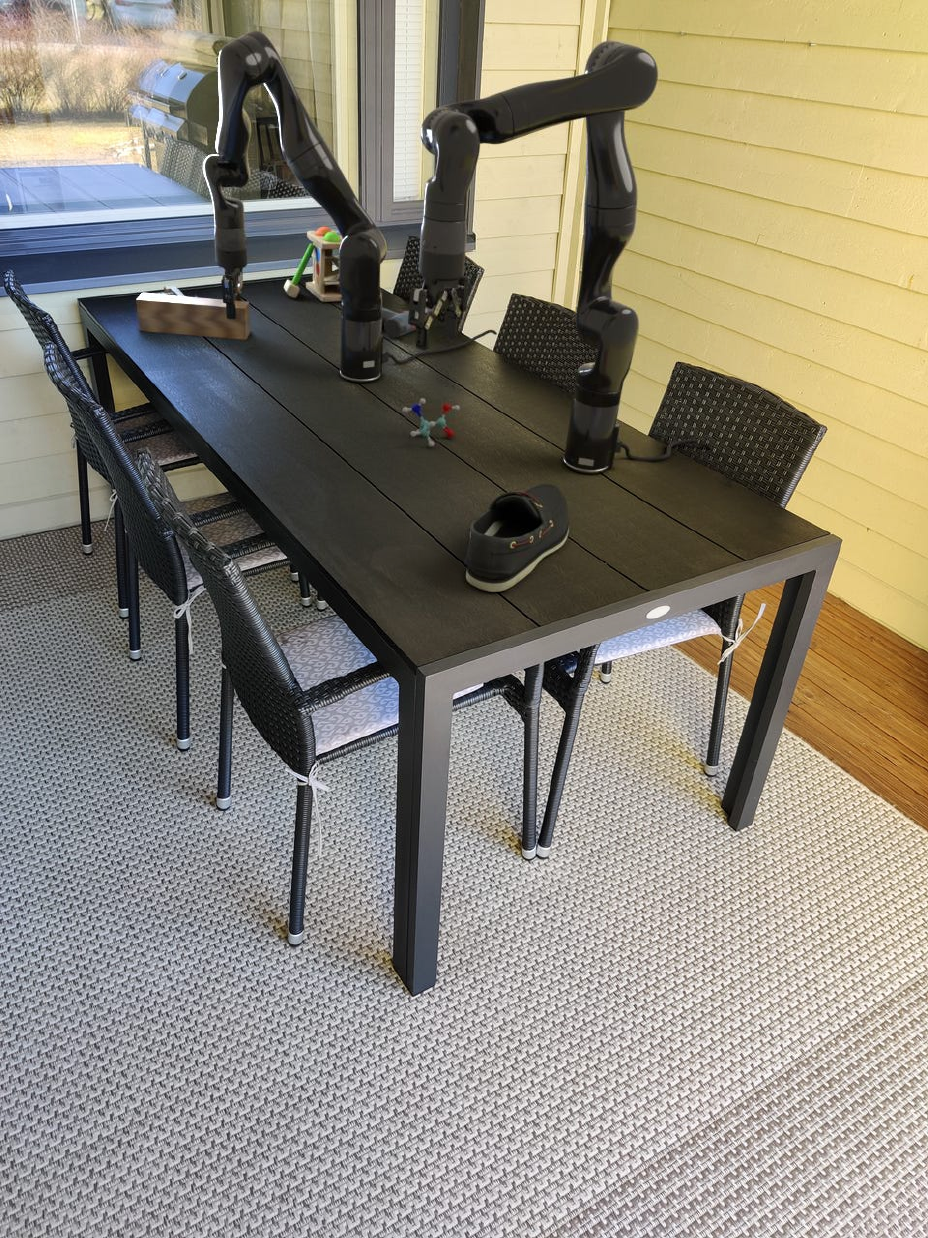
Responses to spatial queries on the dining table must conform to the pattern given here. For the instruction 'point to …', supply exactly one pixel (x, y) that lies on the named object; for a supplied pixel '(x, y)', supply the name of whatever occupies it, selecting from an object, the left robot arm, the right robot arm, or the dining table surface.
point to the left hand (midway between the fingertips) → (234, 314)
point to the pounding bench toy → (320, 266)
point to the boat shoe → (515, 536)
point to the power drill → (397, 322)
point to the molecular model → (427, 425)
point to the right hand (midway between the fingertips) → (436, 343)
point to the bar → (191, 316)
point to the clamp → (172, 291)
